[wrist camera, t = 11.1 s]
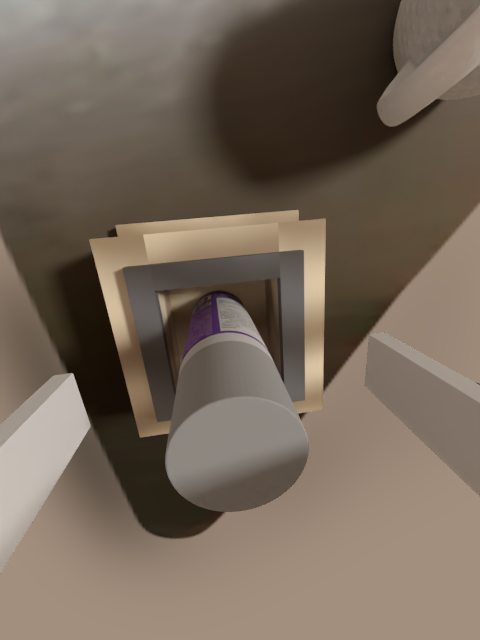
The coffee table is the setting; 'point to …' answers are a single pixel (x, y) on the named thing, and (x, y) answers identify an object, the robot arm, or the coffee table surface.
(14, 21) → the coffee table surface
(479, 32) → the mug
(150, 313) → the socket
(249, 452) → the container
